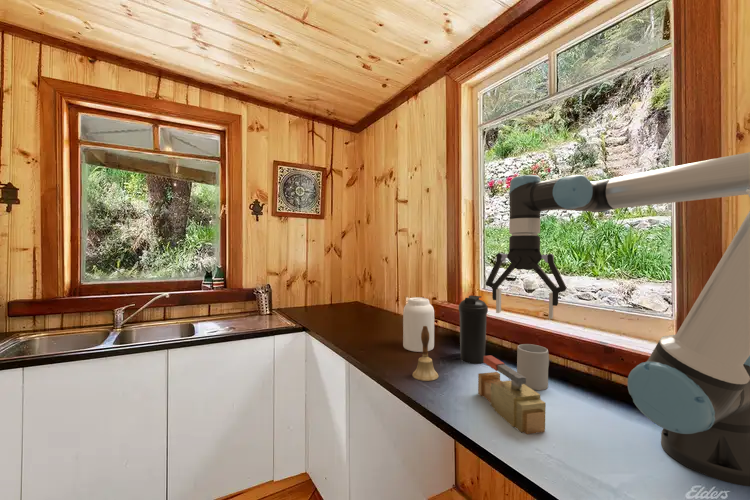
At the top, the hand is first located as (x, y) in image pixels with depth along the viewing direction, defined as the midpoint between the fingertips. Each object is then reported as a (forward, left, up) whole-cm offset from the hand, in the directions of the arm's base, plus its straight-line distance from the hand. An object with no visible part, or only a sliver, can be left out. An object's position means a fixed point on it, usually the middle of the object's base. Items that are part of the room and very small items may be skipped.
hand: (523, 315), depth 88 cm
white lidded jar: (+48, +13, -24) cm, 55 cm away
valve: (-4, +7, -23) cm, 25 cm away
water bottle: (+31, -2, -24) cm, 39 cm away
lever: (-1, +7, -16) cm, 18 cm away
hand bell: (+21, +20, -24) cm, 37 cm away
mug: (+9, -11, -24) cm, 28 cm away
